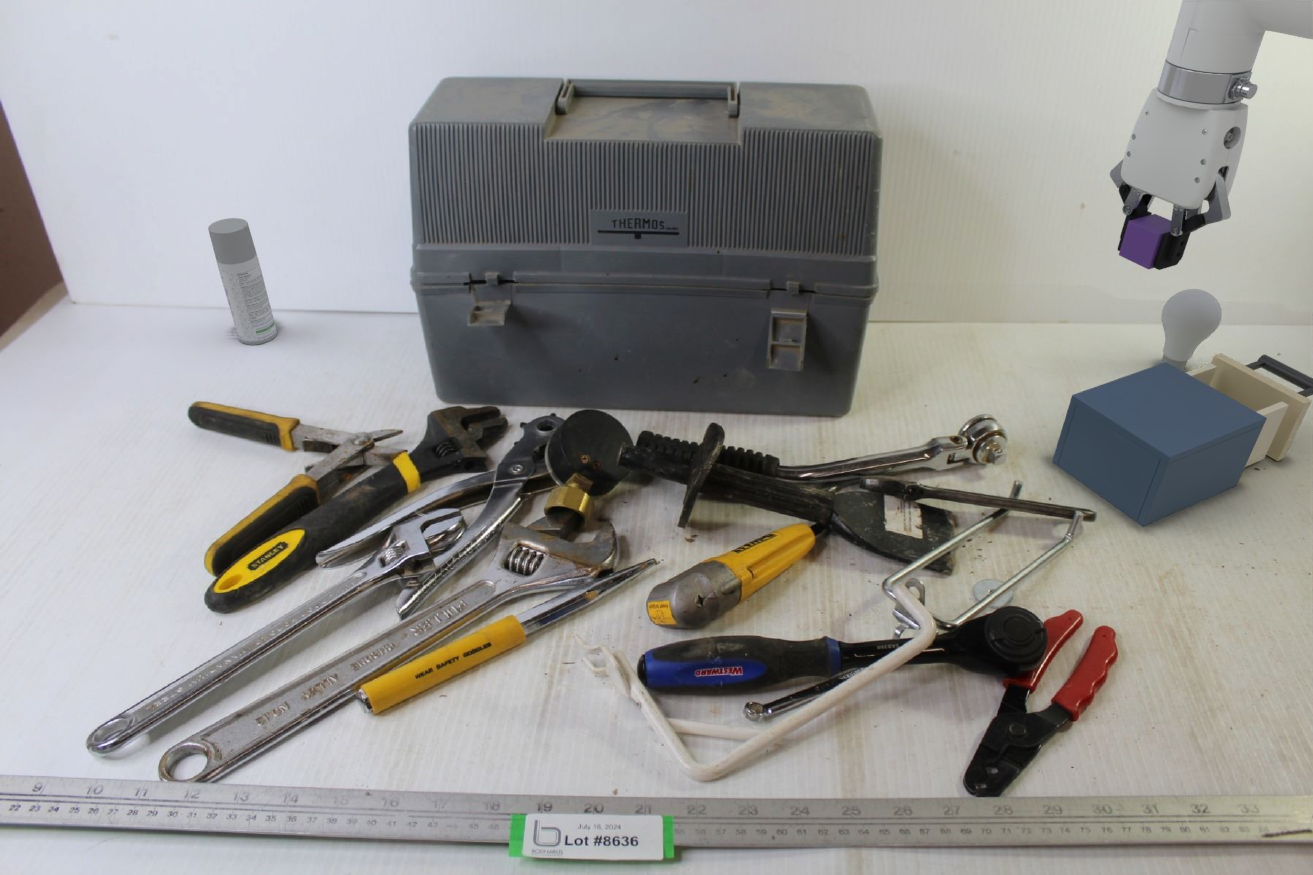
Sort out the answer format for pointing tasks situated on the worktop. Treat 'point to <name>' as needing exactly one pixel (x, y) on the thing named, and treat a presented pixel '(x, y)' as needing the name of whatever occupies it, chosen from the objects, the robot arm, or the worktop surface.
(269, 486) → the worktop surface
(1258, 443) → the cream drawer
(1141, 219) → the purple cube
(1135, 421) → the blue drawer cabinet
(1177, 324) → the lightbulb
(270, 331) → the container
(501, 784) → the worktop surface
